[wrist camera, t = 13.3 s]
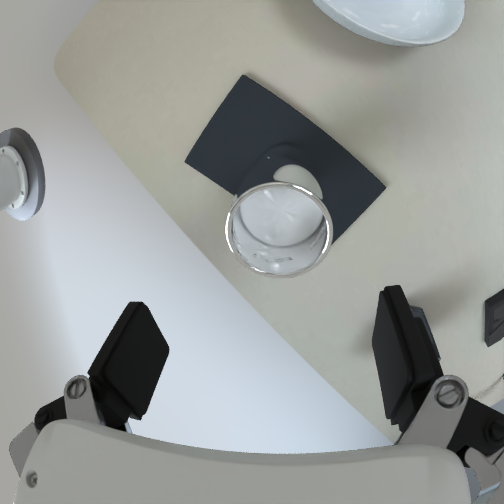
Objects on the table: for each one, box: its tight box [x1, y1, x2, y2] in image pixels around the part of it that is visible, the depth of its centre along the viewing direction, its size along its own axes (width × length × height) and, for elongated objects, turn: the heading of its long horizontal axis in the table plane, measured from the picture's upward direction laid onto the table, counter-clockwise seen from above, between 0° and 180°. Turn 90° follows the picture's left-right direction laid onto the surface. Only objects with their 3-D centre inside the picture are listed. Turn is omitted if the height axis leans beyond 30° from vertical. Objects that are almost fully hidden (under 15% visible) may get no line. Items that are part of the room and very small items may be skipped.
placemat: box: [185, 75, 386, 245], centre depth 30 cm, size 20×12×1 cm, turn 55°
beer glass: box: [225, 144, 333, 278], centre depth 23 cm, size 7×7×15 cm
